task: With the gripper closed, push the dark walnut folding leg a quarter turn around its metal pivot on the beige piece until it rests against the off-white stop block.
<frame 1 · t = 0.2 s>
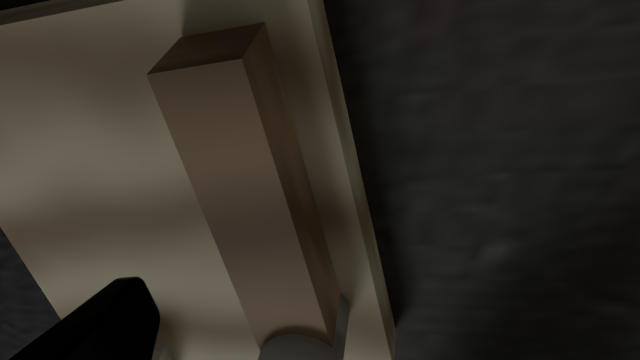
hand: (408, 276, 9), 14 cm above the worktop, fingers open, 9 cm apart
folding leg: (269, 236, 22), point 4 cm above the worktop, hinge at 0.0°
beige piece: (190, 194, 27), on the worktop
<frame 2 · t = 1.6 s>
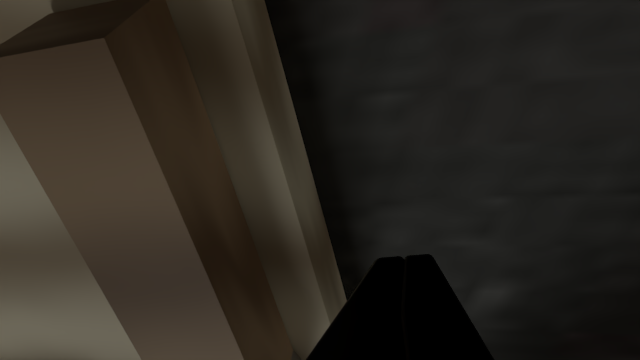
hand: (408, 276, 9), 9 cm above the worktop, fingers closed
folding leg: (186, 285, 16), point 4 cm above the worktop, hinge at 0.0°
beige piece: (106, 221, 21), on the worktop
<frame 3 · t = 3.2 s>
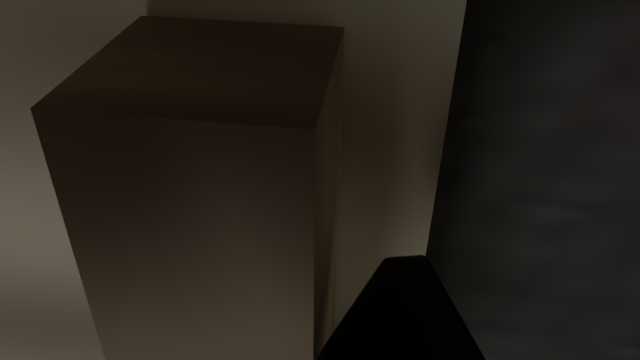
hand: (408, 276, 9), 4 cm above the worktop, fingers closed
beige piece: (102, 272, 16), on the worktop
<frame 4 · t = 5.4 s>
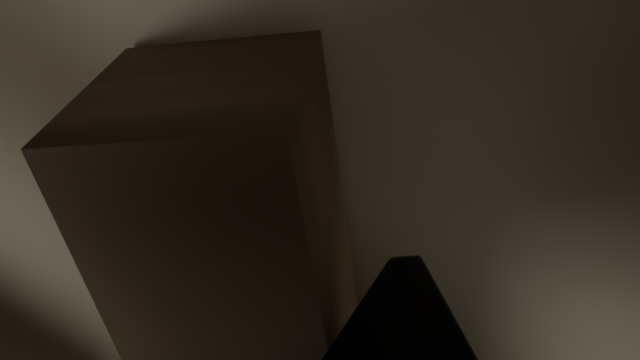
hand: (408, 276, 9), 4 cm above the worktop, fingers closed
beige piece: (337, 238, 14), on the worktop
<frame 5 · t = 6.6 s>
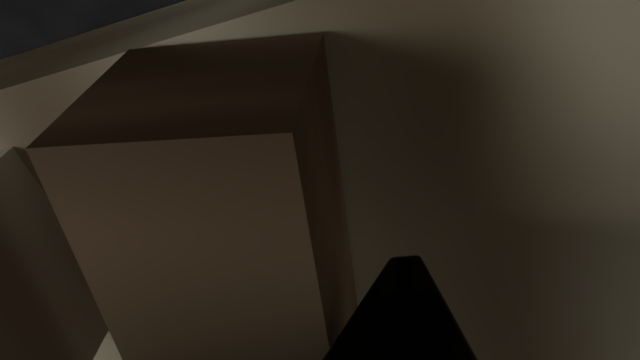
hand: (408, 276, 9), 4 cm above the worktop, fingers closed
beige piece: (471, 275, 14), on the worktop
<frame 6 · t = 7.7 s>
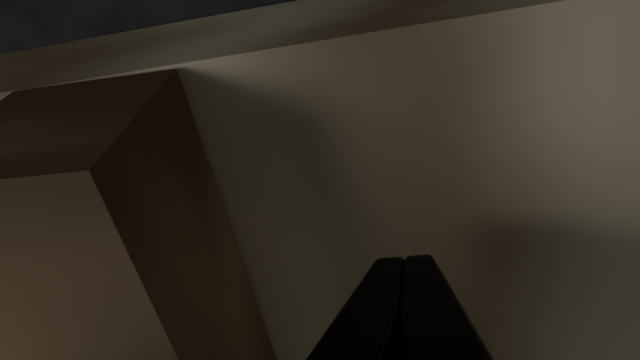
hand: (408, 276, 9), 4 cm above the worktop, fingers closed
beige piece: (434, 302, 15), on the worktop
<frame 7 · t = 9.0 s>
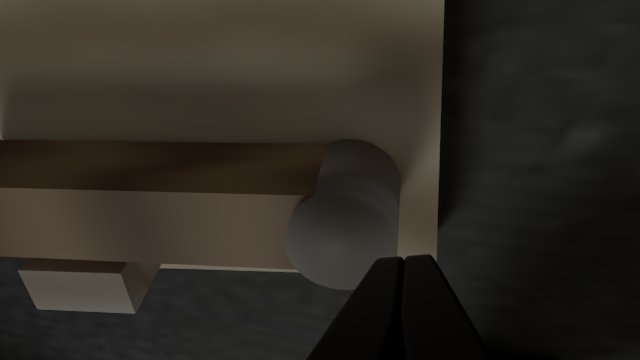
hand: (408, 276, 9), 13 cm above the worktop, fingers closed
folding leg: (181, 207, 20), point 4 cm above the worktop, hinge at 88.8°
beige piece: (209, 22, 21), on the worktop
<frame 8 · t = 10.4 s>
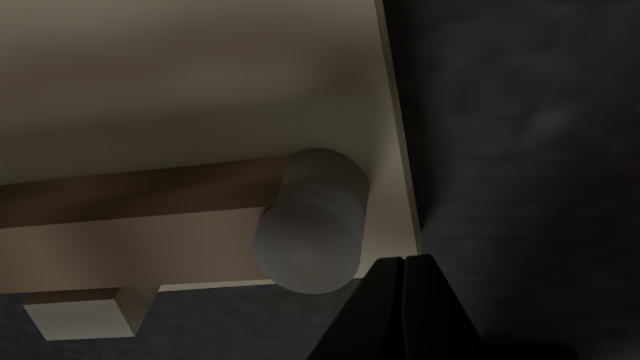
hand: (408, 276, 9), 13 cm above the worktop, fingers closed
folding leg: (161, 230, 21), point 4 cm above the worktop, hinge at 88.8°
beige piece: (172, 53, 22), on the worktop
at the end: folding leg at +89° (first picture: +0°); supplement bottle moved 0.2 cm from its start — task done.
